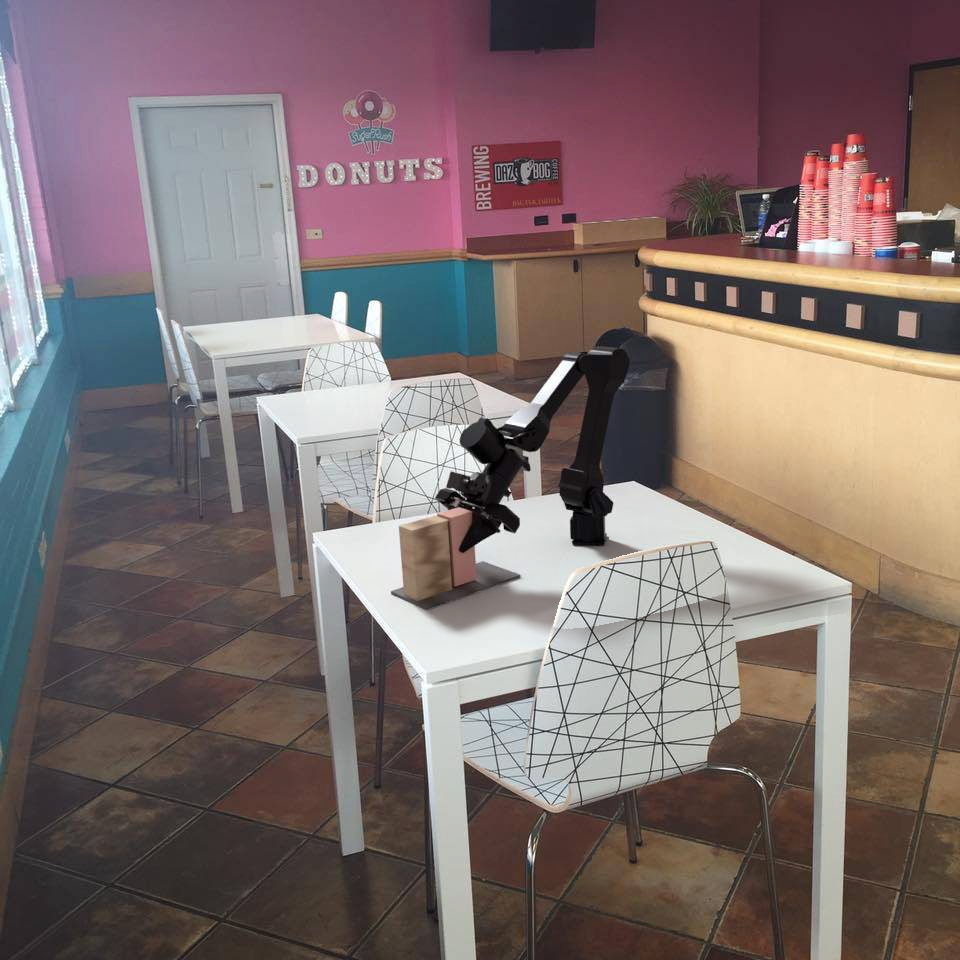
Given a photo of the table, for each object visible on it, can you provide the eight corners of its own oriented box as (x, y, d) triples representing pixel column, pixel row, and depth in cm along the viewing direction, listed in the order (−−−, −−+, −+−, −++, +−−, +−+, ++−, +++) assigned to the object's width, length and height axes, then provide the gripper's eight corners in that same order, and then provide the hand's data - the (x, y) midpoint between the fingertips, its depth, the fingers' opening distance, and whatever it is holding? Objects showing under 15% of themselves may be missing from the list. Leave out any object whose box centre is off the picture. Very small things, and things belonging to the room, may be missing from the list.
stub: (463, 574, 192) (458, 507, 188) (476, 579, 189) (472, 511, 185) (441, 581, 189) (437, 513, 185) (455, 586, 186) (450, 517, 182)
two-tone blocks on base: (483, 563, 199) (479, 496, 196) (520, 577, 191) (517, 507, 187) (390, 593, 186) (385, 522, 183) (426, 609, 178) (421, 535, 174)
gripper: (439, 446, 192) (395, 516, 189) (504, 461, 178) (457, 537, 175) (475, 478, 199) (433, 546, 195) (540, 495, 185) (496, 569, 181)
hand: (453, 549), depth 187 cm, fingers closed on stub, 4 cm apart
